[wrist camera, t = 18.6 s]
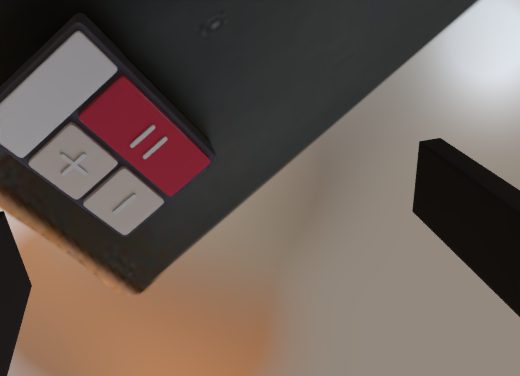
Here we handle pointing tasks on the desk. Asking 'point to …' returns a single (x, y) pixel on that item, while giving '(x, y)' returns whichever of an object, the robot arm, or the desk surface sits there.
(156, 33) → the desk surface
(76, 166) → the calculator
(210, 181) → the desk surface
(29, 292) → the robot arm
